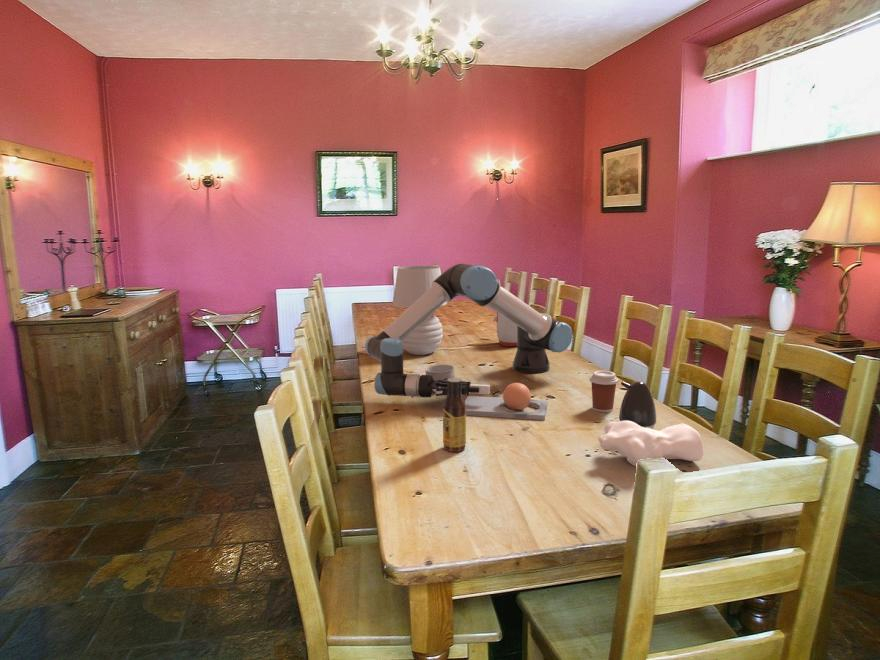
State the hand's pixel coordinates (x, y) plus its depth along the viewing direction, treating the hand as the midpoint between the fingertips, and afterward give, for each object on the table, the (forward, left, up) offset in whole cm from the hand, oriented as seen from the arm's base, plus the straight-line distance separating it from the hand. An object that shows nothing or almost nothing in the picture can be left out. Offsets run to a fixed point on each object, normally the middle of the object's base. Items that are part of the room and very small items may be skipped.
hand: (489, 389), depth 187 cm
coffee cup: (-35, +12, -7) cm, 38 cm away
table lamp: (+1, -86, -7) cm, 86 cm away
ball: (-8, +4, -2) cm, 9 cm away
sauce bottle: (+21, +28, -7) cm, 36 cm away
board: (-4, +2, -6) cm, 8 cm away
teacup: (+8, -29, -7) cm, 31 cm away
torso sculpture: (-23, +51, -7) cm, 56 cm away
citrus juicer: (-45, -87, -7) cm, 98 cm away
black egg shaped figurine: (-33, +33, -7) cm, 47 cm away
